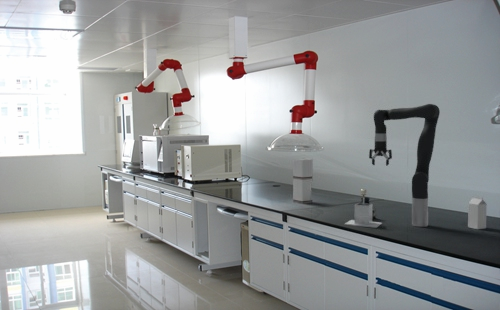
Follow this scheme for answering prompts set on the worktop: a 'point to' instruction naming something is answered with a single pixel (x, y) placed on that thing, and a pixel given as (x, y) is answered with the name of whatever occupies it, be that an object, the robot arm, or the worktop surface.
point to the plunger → (363, 192)
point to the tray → (373, 224)
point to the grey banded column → (302, 180)
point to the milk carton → (477, 213)
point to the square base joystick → (363, 214)
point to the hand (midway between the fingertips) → (380, 165)
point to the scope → (368, 203)
